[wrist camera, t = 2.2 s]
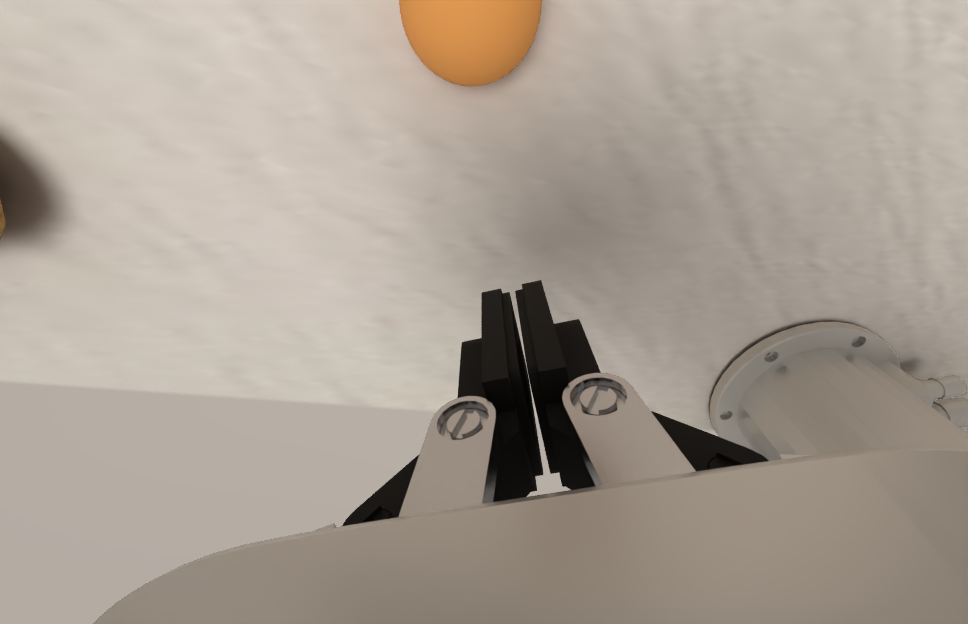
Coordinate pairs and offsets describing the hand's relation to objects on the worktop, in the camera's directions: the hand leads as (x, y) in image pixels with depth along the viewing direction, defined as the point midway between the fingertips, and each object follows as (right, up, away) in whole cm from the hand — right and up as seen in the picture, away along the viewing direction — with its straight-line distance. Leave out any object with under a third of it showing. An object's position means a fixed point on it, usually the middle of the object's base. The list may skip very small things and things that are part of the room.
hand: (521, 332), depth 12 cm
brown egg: (-2, +14, +6) cm, 15 cm away
